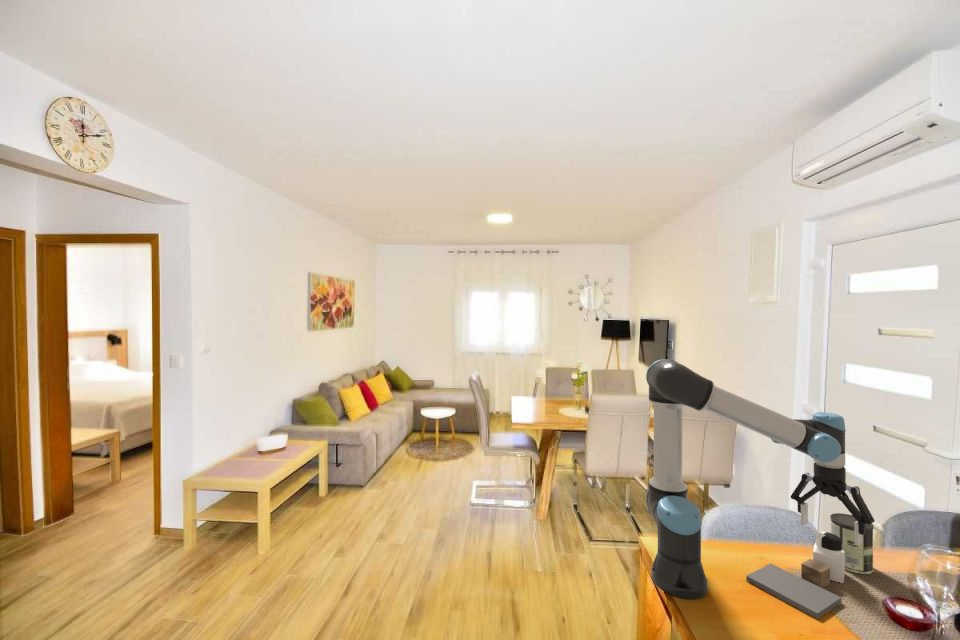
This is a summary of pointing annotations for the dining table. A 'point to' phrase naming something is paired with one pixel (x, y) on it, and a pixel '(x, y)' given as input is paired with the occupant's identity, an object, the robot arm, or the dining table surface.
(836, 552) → the medicine bottle
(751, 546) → the dining table surface
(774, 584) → the charcoal serving board
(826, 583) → the walnut block
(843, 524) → the coffee can
